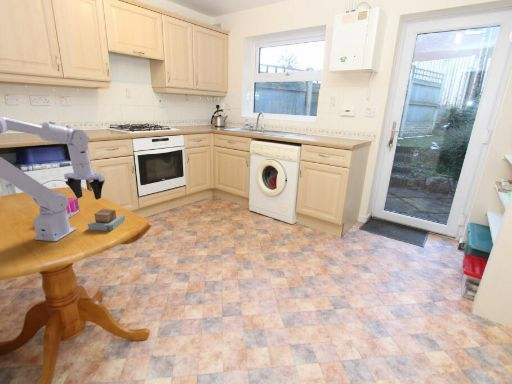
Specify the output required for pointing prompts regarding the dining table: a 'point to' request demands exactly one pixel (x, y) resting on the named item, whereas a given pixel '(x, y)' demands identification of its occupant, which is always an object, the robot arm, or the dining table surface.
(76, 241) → the dining table surface
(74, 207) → the supplement box
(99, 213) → the walnut cube
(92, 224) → the grey flat angled piece
